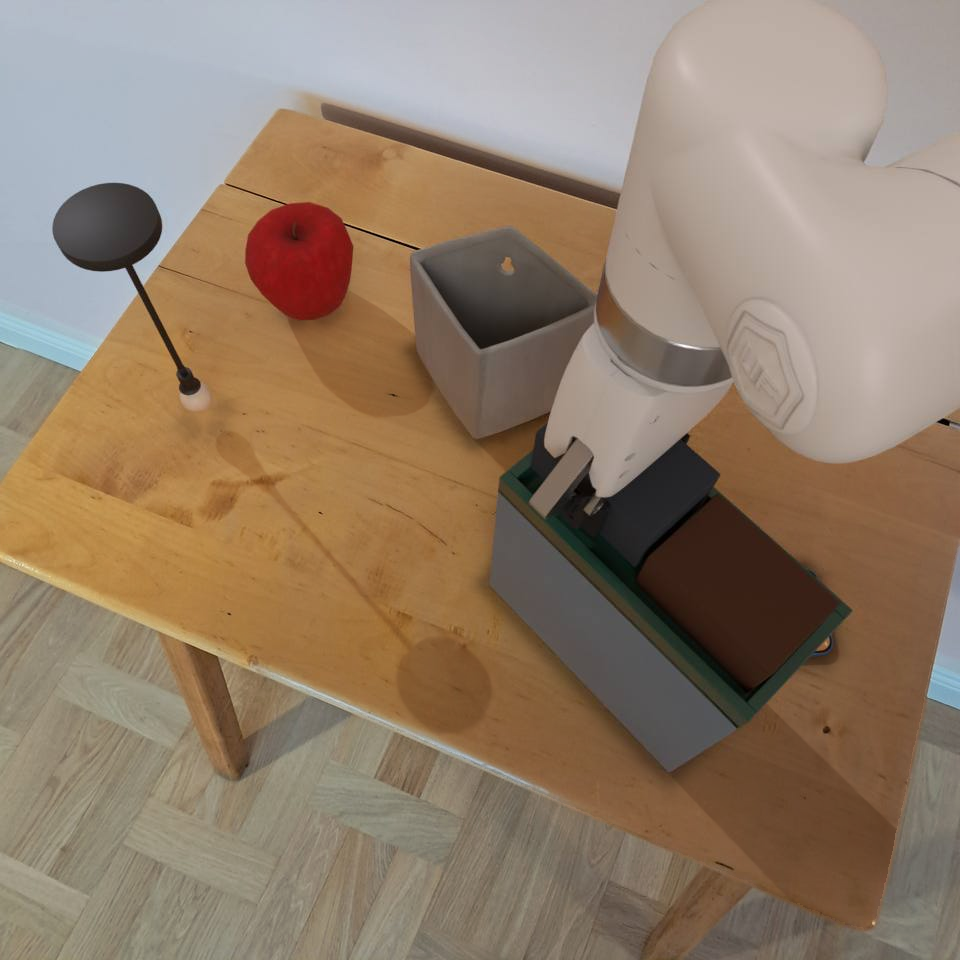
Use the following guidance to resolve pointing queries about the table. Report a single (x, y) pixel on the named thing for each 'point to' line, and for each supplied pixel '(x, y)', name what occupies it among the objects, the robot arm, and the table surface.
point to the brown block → (734, 592)
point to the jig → (646, 616)
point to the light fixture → (121, 253)
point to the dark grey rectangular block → (647, 497)
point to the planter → (496, 326)
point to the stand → (600, 645)
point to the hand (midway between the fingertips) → (616, 483)
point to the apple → (300, 259)
